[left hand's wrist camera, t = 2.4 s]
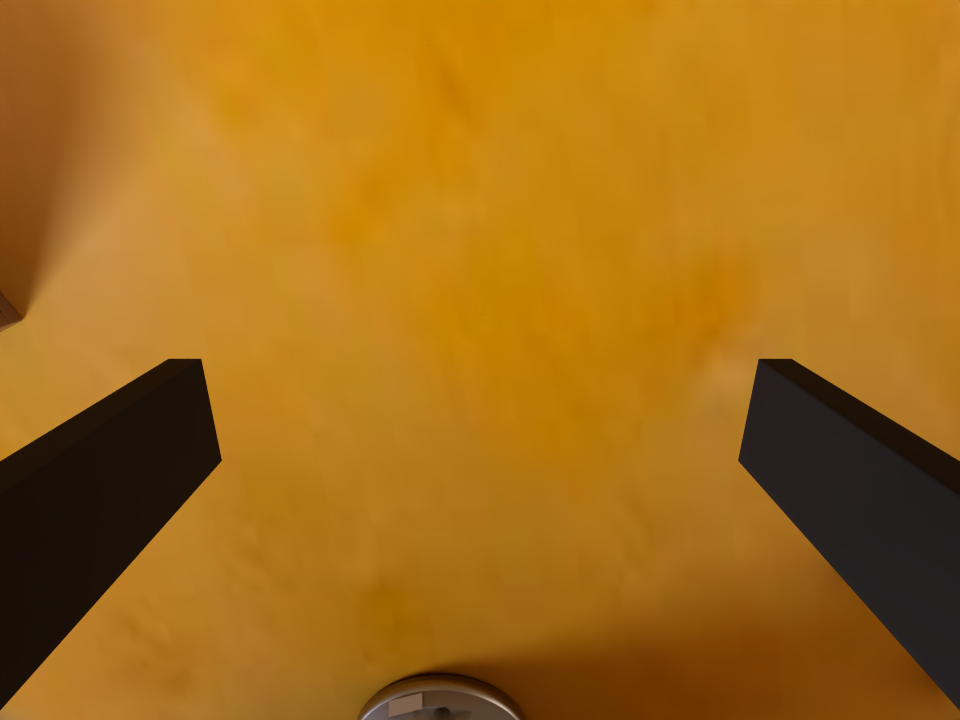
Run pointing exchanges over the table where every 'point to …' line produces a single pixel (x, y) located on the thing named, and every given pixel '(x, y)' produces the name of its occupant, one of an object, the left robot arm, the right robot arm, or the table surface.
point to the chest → (7, 314)
